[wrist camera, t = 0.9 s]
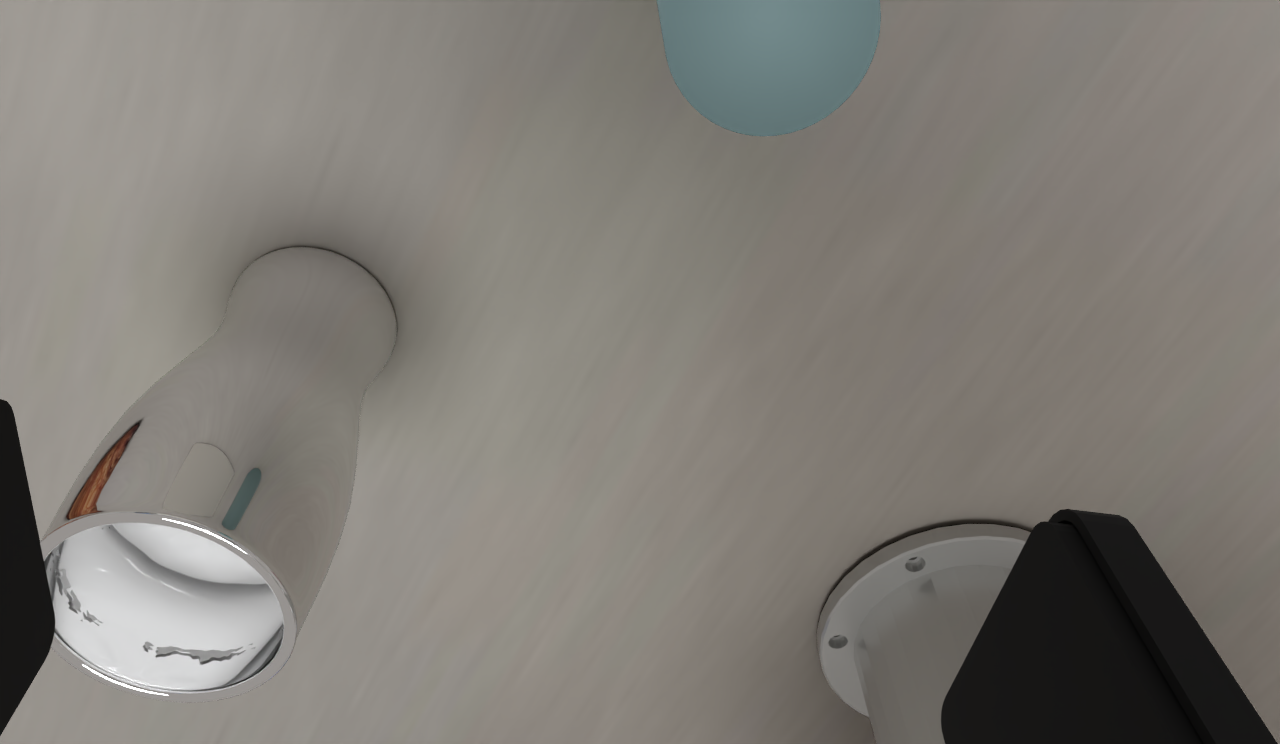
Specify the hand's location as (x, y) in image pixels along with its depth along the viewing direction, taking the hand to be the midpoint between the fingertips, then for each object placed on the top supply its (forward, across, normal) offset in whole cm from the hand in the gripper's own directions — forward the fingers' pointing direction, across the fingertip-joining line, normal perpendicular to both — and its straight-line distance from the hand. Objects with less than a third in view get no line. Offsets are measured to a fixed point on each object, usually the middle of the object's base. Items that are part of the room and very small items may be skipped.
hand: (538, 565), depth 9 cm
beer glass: (+26, +8, +14) cm, 30 cm away
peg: (+26, -4, -2) cm, 26 cm away
